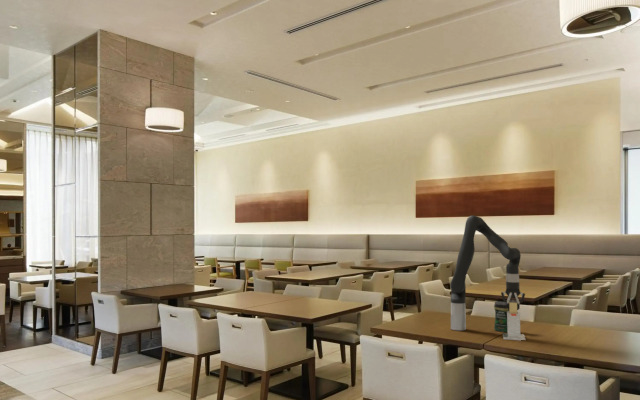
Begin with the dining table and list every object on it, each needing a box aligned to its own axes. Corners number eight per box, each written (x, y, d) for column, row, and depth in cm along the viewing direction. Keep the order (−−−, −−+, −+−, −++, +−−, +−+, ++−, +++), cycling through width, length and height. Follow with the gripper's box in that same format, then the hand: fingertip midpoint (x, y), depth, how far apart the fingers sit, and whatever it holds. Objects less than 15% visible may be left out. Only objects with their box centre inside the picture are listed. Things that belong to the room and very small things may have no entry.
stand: (503, 339, 283) (502, 313, 284) (503, 335, 295) (502, 310, 296) (525, 340, 279) (524, 314, 280) (524, 336, 291) (523, 311, 292)
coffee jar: (492, 330, 307) (492, 301, 308) (497, 329, 313) (496, 300, 314) (508, 333, 301) (507, 303, 302) (512, 331, 307) (511, 301, 308)
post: (510, 336, 286) (509, 301, 287) (509, 334, 290) (509, 300, 291) (517, 336, 284) (517, 301, 286) (517, 335, 288) (516, 300, 290)
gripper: (500, 281, 288) (500, 310, 287) (525, 282, 283) (526, 311, 282) (499, 280, 295) (500, 308, 294) (525, 281, 290) (525, 309, 289)
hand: (513, 309), depth 288 cm, fingers open, 4 cm apart
